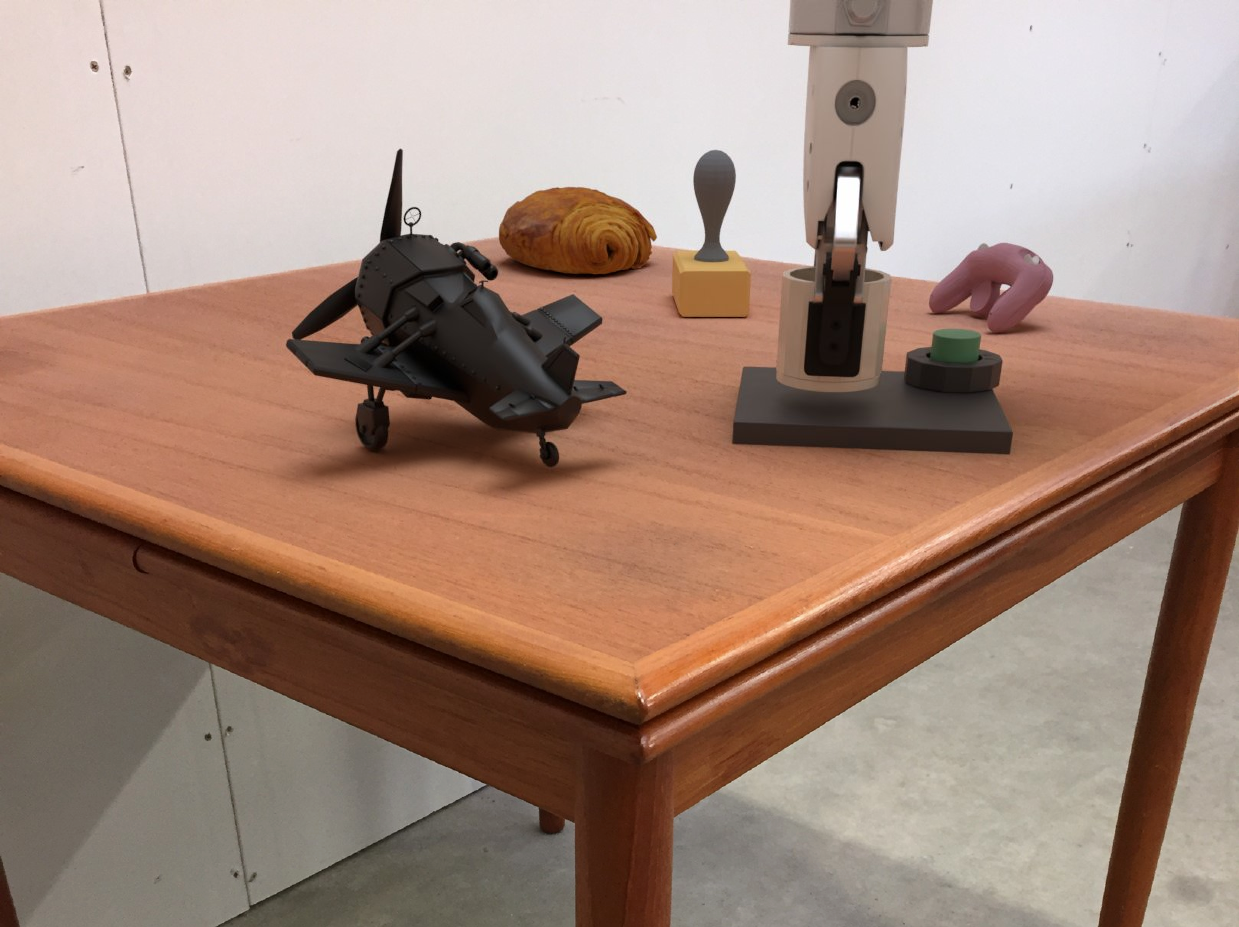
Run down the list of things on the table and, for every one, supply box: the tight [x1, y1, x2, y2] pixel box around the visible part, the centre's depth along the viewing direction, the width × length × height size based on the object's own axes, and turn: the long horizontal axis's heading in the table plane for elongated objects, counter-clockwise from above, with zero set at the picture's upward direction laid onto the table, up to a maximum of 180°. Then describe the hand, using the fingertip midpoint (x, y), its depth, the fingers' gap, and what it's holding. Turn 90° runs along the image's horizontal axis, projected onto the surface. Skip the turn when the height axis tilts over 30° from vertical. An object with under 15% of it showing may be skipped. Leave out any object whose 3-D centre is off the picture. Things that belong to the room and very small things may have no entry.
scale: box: [731, 346, 1014, 455], centre depth 83 cm, size 16×14×3 cm
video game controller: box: [928, 242, 1054, 334], centre depth 109 cm, size 10×5×7 cm, turn 22°
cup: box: [776, 265, 892, 392], centre depth 80 cm, size 6×6×6 cm
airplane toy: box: [285, 148, 628, 468], centre depth 75 cm, size 20×19×15 cm
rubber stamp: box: [671, 149, 752, 318], centre depth 112 cm, size 10×6×12 cm, turn 2°
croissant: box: [498, 186, 658, 275], centre depth 130 cm, size 14×16×8 cm
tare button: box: [930, 328, 982, 363], centre depth 85 cm, size 3×3×2 cm
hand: (830, 358), depth 81 cm, fingers closed on cup, 6 cm apart
